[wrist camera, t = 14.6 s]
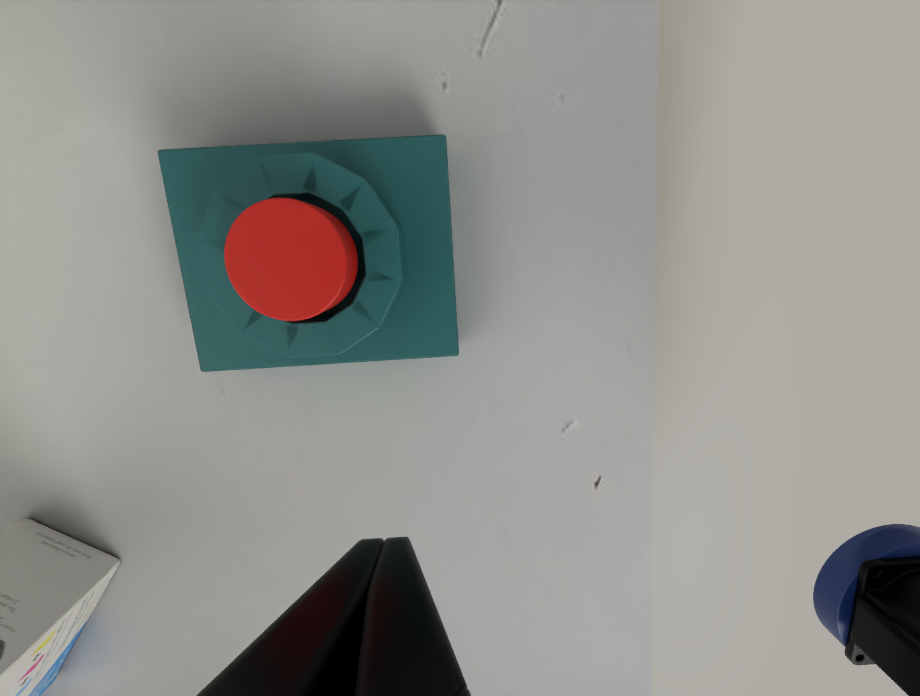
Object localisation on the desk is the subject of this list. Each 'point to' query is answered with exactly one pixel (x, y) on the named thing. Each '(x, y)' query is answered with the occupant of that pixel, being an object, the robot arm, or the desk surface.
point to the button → (290, 259)
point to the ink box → (44, 602)
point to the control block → (369, 223)
